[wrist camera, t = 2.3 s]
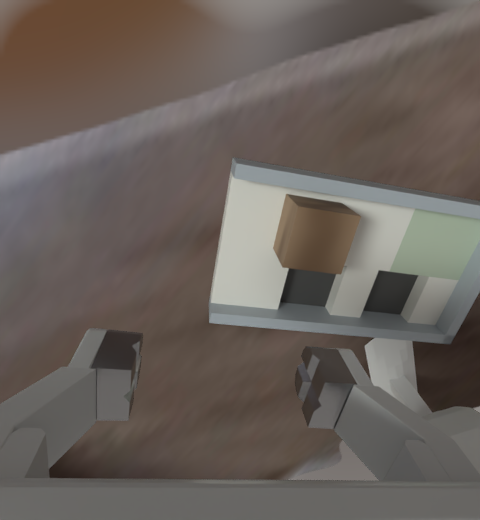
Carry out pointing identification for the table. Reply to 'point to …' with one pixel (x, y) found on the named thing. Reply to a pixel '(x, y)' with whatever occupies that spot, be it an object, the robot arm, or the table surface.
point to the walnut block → (315, 234)
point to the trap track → (348, 259)
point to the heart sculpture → (405, 390)
